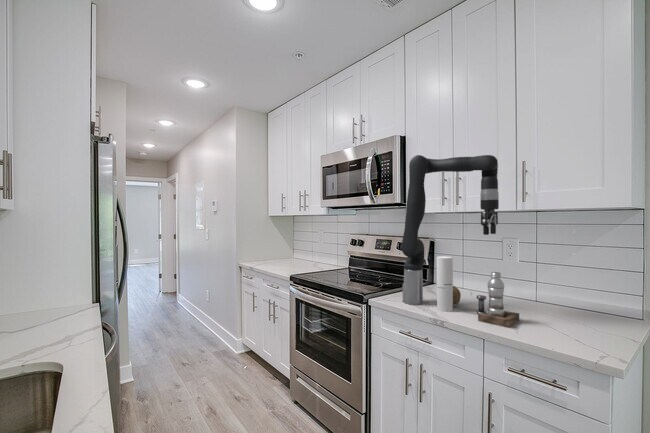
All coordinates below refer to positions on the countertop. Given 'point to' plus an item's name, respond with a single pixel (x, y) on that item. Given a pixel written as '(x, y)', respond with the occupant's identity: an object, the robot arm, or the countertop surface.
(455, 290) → the natural sponge
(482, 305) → the bobbin post
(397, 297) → the countertop surface
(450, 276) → the cylindrical container
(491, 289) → the plastic bottle
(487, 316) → the wooden tray
